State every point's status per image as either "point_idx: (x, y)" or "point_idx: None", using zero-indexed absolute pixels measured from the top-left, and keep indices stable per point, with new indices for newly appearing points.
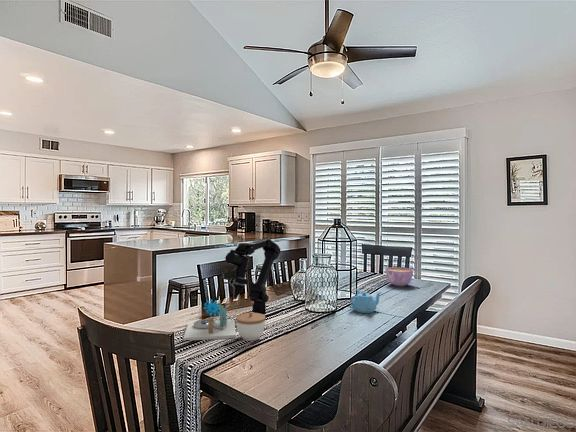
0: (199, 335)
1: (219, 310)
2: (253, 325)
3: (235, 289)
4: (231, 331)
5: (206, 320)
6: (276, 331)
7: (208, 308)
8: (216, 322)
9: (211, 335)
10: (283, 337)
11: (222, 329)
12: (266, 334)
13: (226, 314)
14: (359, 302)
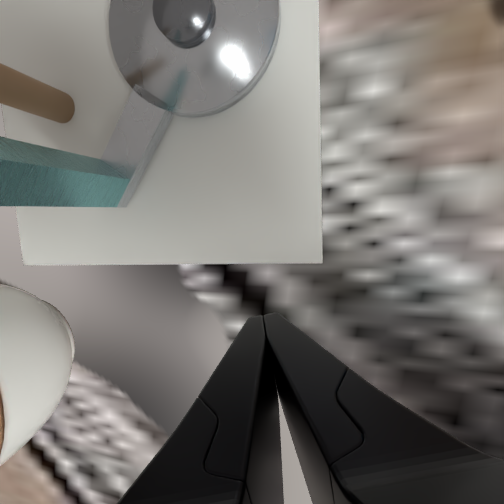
0: (17, 40)
1: None
2: None
3: (162, 483)
4: (75, 241)
5: (187, 21)
6: (115, 482)
7: None
8: (265, 116)
9: (17, 120)
10: (38, 488)
11: None
12: (77, 423)
13: (48, 206)
14: None
